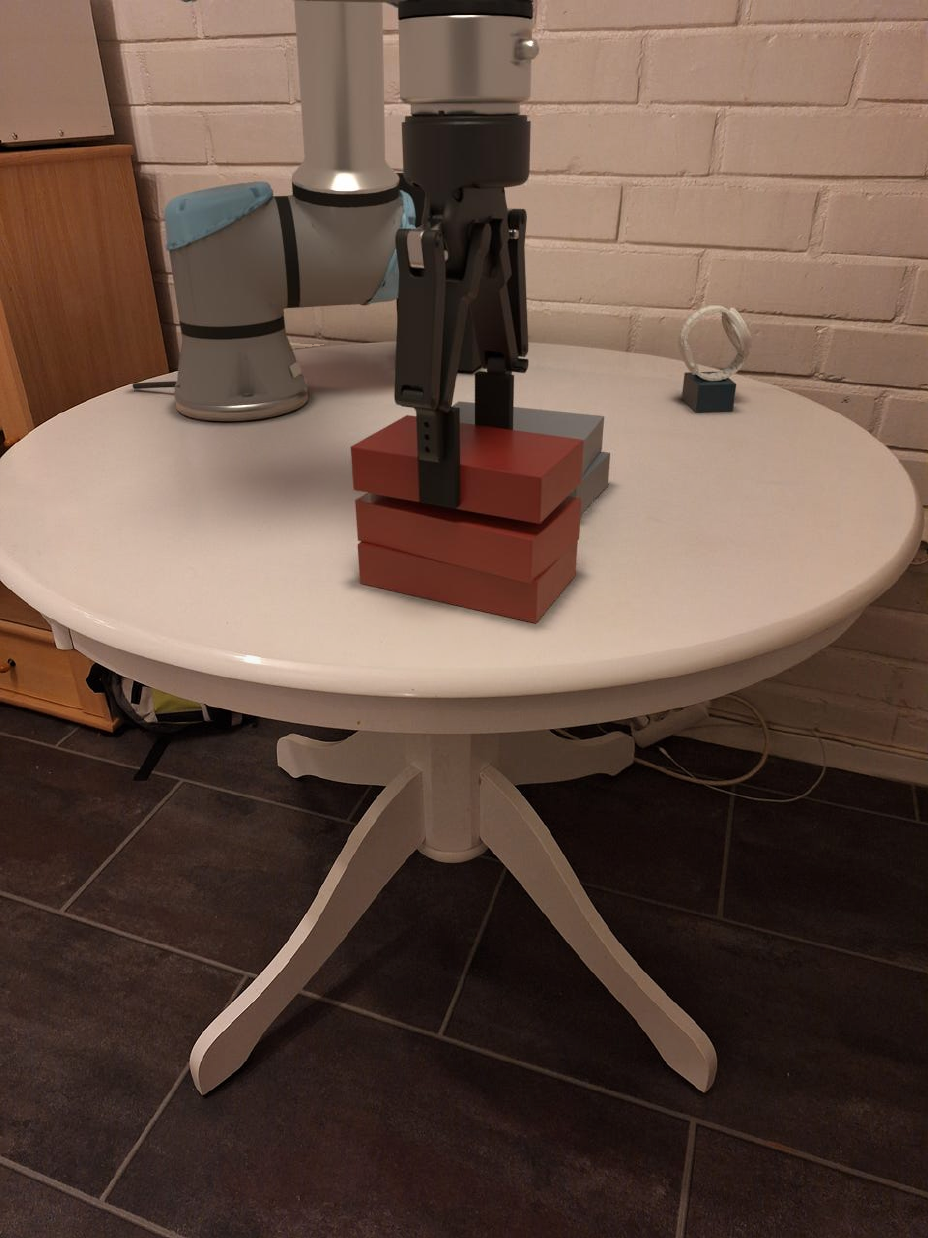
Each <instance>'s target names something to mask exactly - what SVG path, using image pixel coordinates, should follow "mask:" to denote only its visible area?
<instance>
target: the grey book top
mask: <svg viewBox="0 0 928 1238" xmlns="http://www.w3.org/2000/svg"><path fill="white" fill-rule="evenodd" d="M451 407H456V408H460V423H467V424H474V425H475V402H469V401H461V400H459V401H457V402H456V403H454V404H452V406H451ZM604 425H605V416H604V415H597V414H588V413H587V414H586V413H577V412H567V411H559V410H558V411H557V410H549V409H548V410H547V409H539V408H529V407H528V408H527V407H518V406H514V408H513V430H517V431H524V432H531V433H538V434H545V435H552V436H559V437H567V438H574V439H581V440H583V441H584V443H583V460H582V476H583V475H584V473H585V472H586V471H587V469H588V468H589V467H590V465H591V464H592V463H593V461H594V460H595V459H596V457H597V456H598V455H599V453H600V452H603V441H604V428H605V427H604ZM581 478H582V477H581Z"/></svg>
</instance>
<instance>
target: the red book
mask: <svg viewBox="0 0 928 1238" xmlns="http://www.w3.org/2000/svg"><path fill="white" fill-rule="evenodd" d="M583 443H584V441H583V440H581V439H574V438H567V437H559V436H552V435H545V434H538V433H531V432H524V431H517V430H510V429H503V428H495V427H488V426H481V425H474V424H467V423H460V506H458V507H457V508H456V509H460V510H466V511H471V512H477V513H482V514H488V515H493V516H499V517H504V518H510V519H515V520H521V521H526V522H532V523H537V524H540V523H541V522H542V521H543V520H544V519H545V518H546V517H547V516H548V515H549V514H550V513H551V512H552V511H553V510H554V509H555V508H556V507H557V506H558V505H559V504H560V503H561V502H562V501H563V500H564V499H565V498H566V497H567V496H568V495H569V494H570V493H571V492H572V491H573V490H574V489H575V488H576V487H577V486H578V485H579V484H580V483H581V477H582V460H583ZM350 459H351V472H352V473H351V474H352V486H353V487H352V488H353V491H356V492H360V493H361V492H362V493H365V494H366V493H372V494H377V495H383V496H388V497H394V498H399V499H405V500H411V501H416V502H419V479H418V450H417V421H416V415H409V414H407V415H404V416H403V417H401V418H399V419H398V420H395V421H394V422H392V423H391V424H389V425H387V426H385V427H383V428H381V429H380V430H378V431H376V432H375V433H372V434H370V435H369V436H367V437H366V438H364V439H361V440H360V441H358V442H356V443H354V444H353V445H351V446H350Z"/></svg>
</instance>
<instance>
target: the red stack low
mask: <svg viewBox="0 0 928 1238" xmlns="http://www.w3.org/2000/svg"><path fill="white" fill-rule="evenodd" d="M578 541H579V540H578ZM578 541H577V542H576V543H575V544H574V545H572V546H571V547H570V548H569V549H568V550H567V551H566V552H565V553H564V554H563V555H561V556H560V557H559V558H558V559H557V560H556V561H555V562H554V563H553V564H552V565H551V566H549V567H548V568H547V569H546V570H545V571H544V572H543V573H542V574H541V575H540V576H538V577H537V578H536V579H535V580H534V581H533V582H532V583H526V582H522V581H518V580H514V579H510V578H506V577H502V576H498V575H494V574H490V573H486V572H482V571H478V570H474V569H470V568H466V567H462V566H458V565H454V564H450V563H446V562H442V561H438V560H434V559H430V558H425V557H421V556H417V555H413V554H409V553H405V552H401V551H397V550H393V549H389V548H385V547H381V546H377V545H373V544H369V543H365V542H361V541H359V543H357V558H358V571H359V573H358V574H359V584H361V585H365V586H370V587H374V588H379V589H384V590H388V591H393V592H397V593H401V594H405V595H411V596H414V597H418V598H423V599H428V600H432V601H435V602H441V603H444V604H450V605H454V606H459V607H463V608H467V609H472V610H476V611H480V612H484V613H489V614H493V615H498V616H503V617H507V618H512V619H515V620H519V621H520V620H521V621H525V622H529V623H533V624H537V623H538V622H539V620H540V619H541V618H542V617H543V615H544V614H545V613H546V612H547V610H548V609H550V607H551V606H552V604H553V603H554V602H555V601H556V600H557V599H558V597H559V596H560V595H561V593H562V592H563V591H564V590H565V589H566V588H567V587H568V585H569V584H570V582H571V581H573V579H574V578H575V577H576V575H577V559H578V544H579V542H578Z"/></svg>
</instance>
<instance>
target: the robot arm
mask: <svg viewBox="0 0 928 1238" xmlns="http://www.w3.org/2000/svg"><path fill="white" fill-rule="evenodd" d="M180 1H181V2H183V3H190V2H192V3H195V2H197V1H198V0H180ZM383 3H386V4H387V5H390V6H393V7H394V8H397V20H398V63H399V64H398V65H399V99H400V100H401V102H402V103H403V104H410V115H406V116H404V121H402V122H401V144H402V145H401V147H402V166H403V167H402V171H403V172H402V173H403V175H404V179H405V180H406V182H407V183H408V184H410V185H412V186H415V187H422V188H423V190H424V191H425V204H424V211H423V216H422V225H421V226H420V227H418V228H417V229H416V227H415V218H416V216H415V208H414V203H413V200H412V198H411V197H410V195H409V194H408V193H406V192H404V191H402V190H399V176H398V175H397V174H396V173H397V172H396V171H395V170H394V169H393V168H392V167H391V166H390V165H389V163H388V162H387V160H386V132H385V131H386V130H385V127H386V126H385V125H386V124H385V123H386V122H385V75H384V74H385V71H384V69H385V67H384V65H385V63H384V14H383V12H384V11H383V7H384V6H383ZM533 3H534V0H293V5H294V21H295V35H296V52H297V65H298V78H299V79H298V81H299V92H300V93H299V95H300V110H301V125H302V126H301V127H302V139H303V141H302V142H303V154H304V158H303V160H302V162H301V163H300V165H299V166H298V167H297V169H295V170H294V172H293V173H292V175H291V187H292V189H291V191H292V192H291V193H292V194H289V195H274V189H273V188H272V186H271V184H270V183H269V182H268V181H250V182H240V183H233V184H225V185H219V186H215V187H209V188H205V189H200V190H199V189H198V190H194V191H191V192H187V193H183V194H180V195H177V196H174V197H173V198H171V199H170V200H169V201H168V203H167V204H166V205H165V208H164V211H163V219H164V227H165V228H164V229H165V230H164V231H165V237H166V239H165V240H166V243H165V251H168V253H169V261H170V268H171V275H172V281H173V289H174V294H175V301H176V309H177V316H178V322H179V327H180V334H181V345H180V346H181V347H180V353H179V359H178V365H177V380H174V381H173V380H172V381H150V382H148V381H147V382H133V384H132V389H134V390H142V389H143V390H144V389H161V388H164V389H166V388H174V392H173V394H174V400H175V401H174V402H175V406H176V407H175V408H176V410H177V411H178V412H179V413H180V414H182V415H184V416H187V417H189V418H193V419H197V420H203V421H212V422H241V421H242V422H243V421H254V420H261V419H267V418H272V417H278V416H281V415H284V414H288V413H291V412H293V411H295V410H297V409H300V408H302V407H303V406H305V404H306V403H307V402H308V399H309V395H308V385H307V384H308V383H307V381H306V378H305V376H304V375H303V370H302V368H301V365H300V363H299V361H298V360H297V358H296V355H295V352H294V349H293V347H292V345H291V343H290V340H289V338H288V335H287V331H286V320H285V312H284V311H285V309H299V308H301V309H303V308H315V307H316V308H317V307H318V308H319V307H333V306H351V305H352V306H353V305H357V306H358V305H360V306H369V305H371V304H376V303H385V302H392V301H396V299H397V298H398V314H397V313H396V322H397V323H396V340H395V341H396V342H395V343H396V344H395V345H396V346H395V365H394V366H395V367H394V389H393V390H394V393H393V394H394V395H393V397H394V402H395V404H396V406H400V407H404V408H410V409H411V408H412V409H414V411H415V416H416V421H417V450H418V479H419V502H422V503H427V504H433V505H438V506H444V507H449V508H455V509H456V508H457V507H458V506H460V408H456V407H452V406H453V402H454V396H455V395H454V394H455V388H456V384H457V383H456V382H457V377H458V371H459V370H458V365H459V359H460V353H461V347H462V341H463V335H464V329H465V322H466V316H467V310H468V305H469V307H470V312H471V317H472V322H473V327H474V332H475V337H476V342H477V347H478V352H479V357H480V362H481V365H480V367H481V368H482V369H484V370H486V371H483V370H478V371H477V372H475V373H474V403H475V425H481V426H488V427H495V428H503V429H510V430H513V408H514V407H515V405H514V404H515V403H514V402H515V401H514V399H515V394H514V393H515V374H513V373H519V374H526V373H527V371H528V369H529V368H528V367H529V358H525V357H526V356H527V355H528V353H529V325H528V302H527V301H528V299H527V276H526V253H525V251H526V249H525V245H526V232H527V221H528V219H527V218H528V213H527V211H526V209H525V208H511V207H510V208H509V207H508V204H507V199H506V190H505V188H513V187H518V186H522V185H524V184H525V183H526V182H527V181H528V180H529V177H530V171H531V170H530V166H531V132H532V131H531V127H532V126H531V125H532V121H531V120H528V115H527V114H520V113H521V105H520V104H521V103H527V102H528V101H529V99H530V98H531V95H532V94H531V92H532V91H531V90H532V89H531V88H532V60H535V59H536V57H537V56H539V52H540V46H539V43H538V40H537V39H534V38H533V19H534V4H533ZM515 338H516V339H515Z"/></svg>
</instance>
